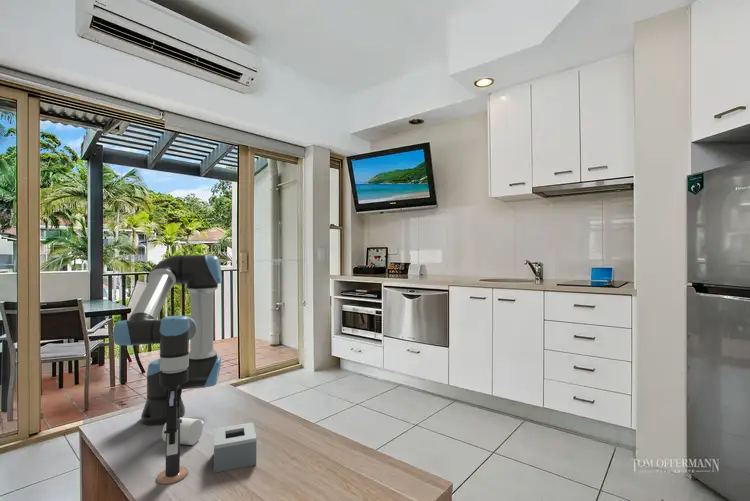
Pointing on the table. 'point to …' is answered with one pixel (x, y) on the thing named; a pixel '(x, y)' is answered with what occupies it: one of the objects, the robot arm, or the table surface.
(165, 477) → the coaster
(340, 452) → the table surface
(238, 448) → the square hole box
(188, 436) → the mug
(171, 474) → the rod
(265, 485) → the table surface
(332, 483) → the table surface
